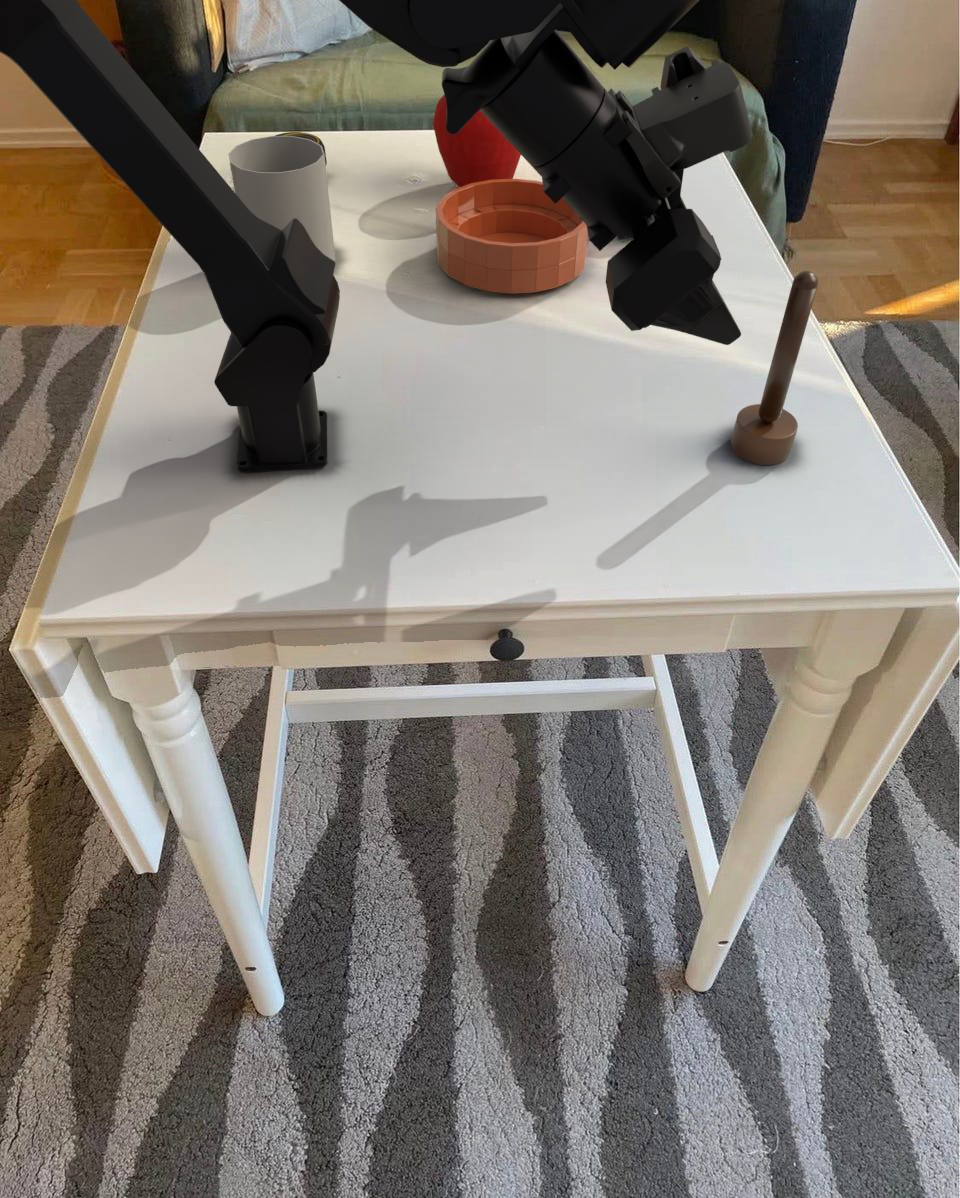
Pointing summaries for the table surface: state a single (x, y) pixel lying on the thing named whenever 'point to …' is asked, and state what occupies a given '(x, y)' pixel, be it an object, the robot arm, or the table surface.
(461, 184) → the apple
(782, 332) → the brown joystick
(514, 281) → the bowl
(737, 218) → the table surface
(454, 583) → the table surface
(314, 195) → the cup
